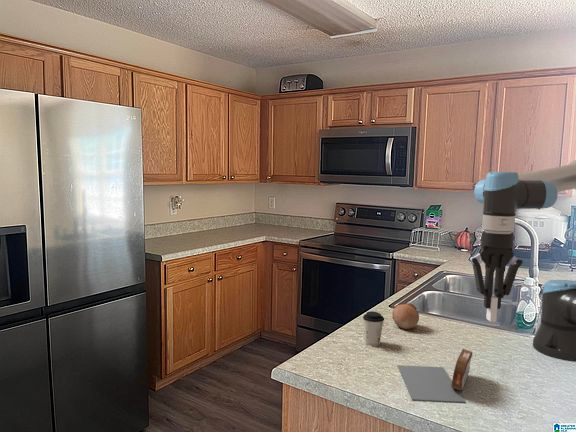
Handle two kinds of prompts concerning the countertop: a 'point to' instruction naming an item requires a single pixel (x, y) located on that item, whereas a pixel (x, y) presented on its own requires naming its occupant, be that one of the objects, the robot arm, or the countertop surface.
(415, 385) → the mat
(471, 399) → the countertop surface
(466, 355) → the tin
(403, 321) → the onion
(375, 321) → the coffee cup
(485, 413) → the countertop surface
